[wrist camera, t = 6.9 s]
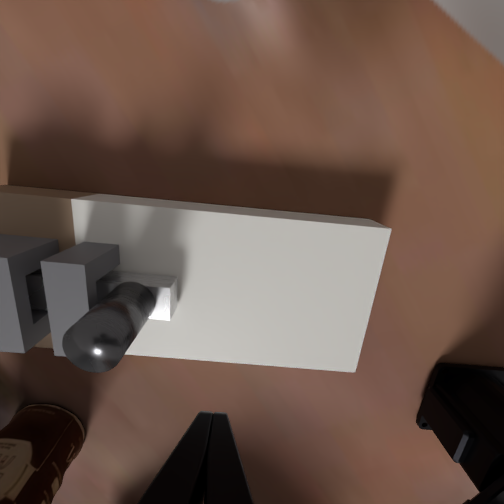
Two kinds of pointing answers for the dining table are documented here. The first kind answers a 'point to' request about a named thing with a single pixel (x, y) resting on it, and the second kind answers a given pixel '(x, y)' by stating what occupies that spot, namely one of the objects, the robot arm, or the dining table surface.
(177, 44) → the dining table surface
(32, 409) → the coffee cup
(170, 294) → the bolt
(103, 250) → the door lock board
